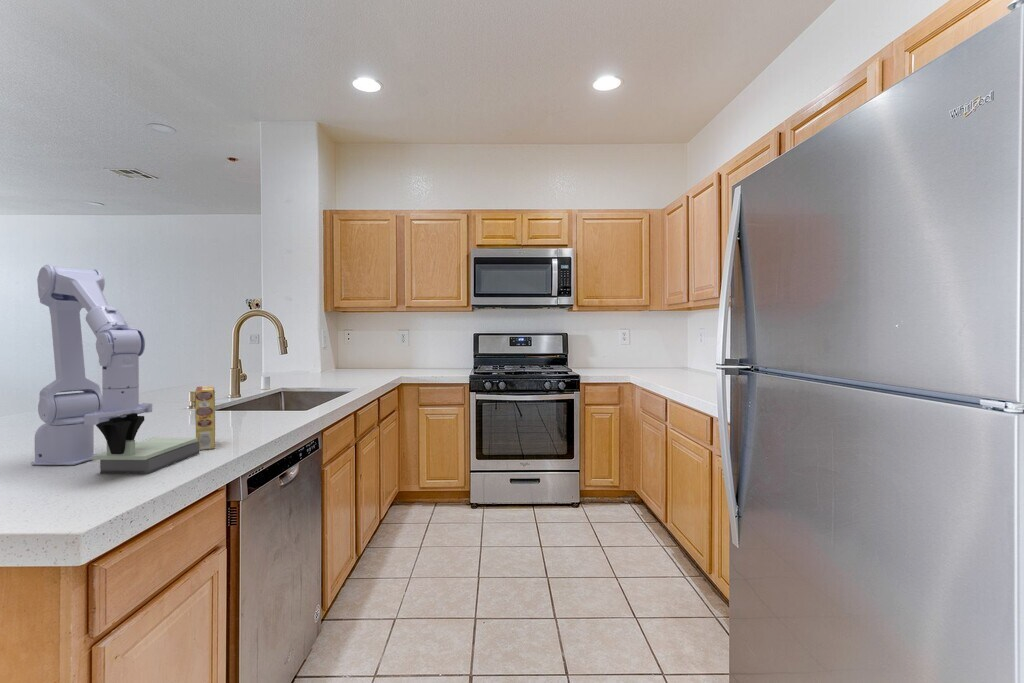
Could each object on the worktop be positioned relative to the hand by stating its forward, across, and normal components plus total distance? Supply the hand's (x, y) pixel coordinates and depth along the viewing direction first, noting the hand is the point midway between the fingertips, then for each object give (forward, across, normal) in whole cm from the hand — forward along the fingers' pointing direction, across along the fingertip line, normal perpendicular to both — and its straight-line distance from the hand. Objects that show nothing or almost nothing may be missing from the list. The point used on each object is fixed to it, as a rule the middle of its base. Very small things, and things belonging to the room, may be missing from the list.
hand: (120, 452), depth 94 cm
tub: (+5, +9, 0) cm, 10 cm away
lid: (+1, +8, 0) cm, 8 cm away
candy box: (+5, +24, -2) cm, 24 cm away
